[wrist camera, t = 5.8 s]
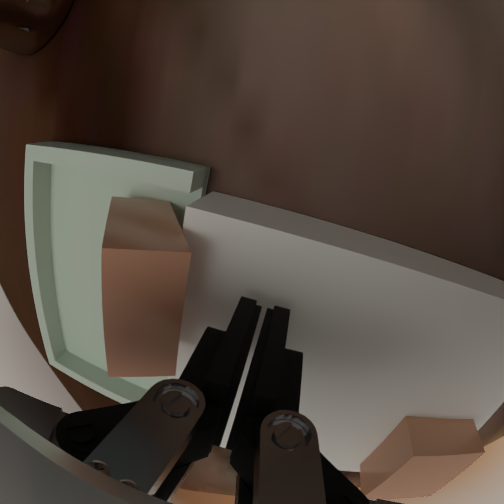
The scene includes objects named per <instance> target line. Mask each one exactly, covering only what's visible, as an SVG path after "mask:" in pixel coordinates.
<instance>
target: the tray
mask: <svg viewBox="0 0 504 504" xmlns="http://www.w3.org/2000/svg"><path fill="white" fill-rule="evenodd" d="M210 169H211V167H210V166H205V165H201V164H196V163H191V162H186V161H181V160H176V159H171V158H165V157H160V156H154V155H149V154H143V153H137V152H131V151H125V150H119V149H112V148H105V147H98V146H91V145H83V144H75V143H67V142H58V141H47V142H39V143H32V144H26V154H25V175H24V207H25V229H26V243H27V253H28V262H29V270H30V277H31V284H32V290H33V296H34V301H35V307H36V312H37V317H38V321H39V326H40V330H41V334H42V338H43V342H44V346H45V350H46V353H47V357H48V360H49V364H51V365H52V366H54V367H56V368H57V369H59V370H61V371H62V372H64V373H65V374H67V375H69V376H71V377H72V378H74V379H76V380H78V381H79V382H81V383H83V384H85V385H86V386H88V387H90V388H92V389H94V390H96V391H98V392H100V393H102V394H104V395H106V396H107V397H109V398H112V399H114V400H116V401H118V402H120V403H122V404H124V403H129V402H134V401H138V400H140V399H141V398H142V397H143V396H144V395H145V393H146V392H147V391H148V390H149V389H150V388H151V387H152V386H153V385H154V384H156V383H157V382H159V381H162V380H164V379H168V376H156V377H108V370H107V362H106V352H105V341H104V329H103V313H102V283H101V254H102V243H103V237H104V232H105V226H106V221H107V216H108V212H109V207H110V202H111V198H112V196H113V197H127V198H140V199H152V200H164V201H170V204H171V206H172V208H173V211H174V213H175V215H176V218H177V220H178V223H179V225H180V227H181V230H183V223H184V216H185V210H186V206H187V205H189V204H191V203H193V202H194V201H196V200H198V199H200V198H202V197H203V196H205V195H206V190H207V185H208V179H209V174H210Z"/></svg>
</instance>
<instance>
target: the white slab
mask: <svg viewBox="0 0 504 504" xmlns="http://www.w3.org/2000/svg"><path fill="white" fill-rule="evenodd" d="M182 232H183V234H184V236H185V239H186V241H187V243H188V246H189V248H190V250H191V252H192V254H191V260H190V266H189V273H188V279H187V286H186V293H185V300H184V307H183V315H182V323H181V331H180V339H179V347H178V356H177V365H176V375H175V376H168V379H179V378H180V376H181V374H182V372H183V370H184V368H185V367H186V365H187V363H188V361H189V359H190V357H191V355H192V354H193V352H194V350H195V348H196V346H197V344H198V342H199V341H200V339H201V337H202V335H203V333H204V331H205V329H206V328H207V327H208V326H209V327H213V328H216V329H219V330H222V331H226V330H227V328H228V325H229V323H230V321H231V319H232V316H233V314H234V312H235V309H236V307H237V305H238V302H239V300H240V298H241V296H243V297H246V298H250V299H254V300H257V303H256V305H259V306H262V309H261V312H260V316H259V319H258V323H257V326H256V330H255V333H254V337H253V340H252V344H251V347H250V351H249V354H248V358H247V361H246V364H245V368H244V371H243V374H242V378H241V381H240V384H239V387H238V391H237V394H236V397H235V400H234V404H233V407H232V410H231V413H230V416H229V419H228V423H227V426H226V429H225V432H224V435H223V438H222V441H221V444H220V447H223V448H226V444H227V441H228V438H229V435H230V431H231V428H232V425H233V421H234V418H235V415H236V411H237V408H238V405H239V401H240V398H241V394H242V391H243V388H244V384H245V381H246V377H247V374H248V370H249V367H250V364H251V360H252V357H253V354H254V350H255V347H256V344H257V341H258V337H259V334H260V331H261V327H262V324H263V320H264V317H265V314H266V310H267V308H270V309H273V308H274V306H279V307H283V308H287V309H290V317H289V325H288V332H287V340H286V347H285V348H287V349H291V350H295V351H299V352H303V367H302V381H301V393H300V405H299V413H300V414H302V415H304V416H306V417H307V418H308V419H309V420H311V422H312V423H313V424H314V426H315V428H316V431H317V434H318V441H319V449H320V452H321V453H322V454H323V455H324V456H325V457H326V458H327V459H328V460H329V461H330V462H331V463H332V464H333V465H334V466H335V467H336V468H337V469H338V470H343V471H354V472H360V464H361V463H362V462H363V461H364V460H365V459H366V458H367V457H368V456H369V455H370V454H371V453H372V452H373V451H374V450H375V449H376V448H377V447H378V446H379V445H380V444H381V443H382V442H383V441H384V440H385V439H386V437H387V436H388V435H389V434H390V433H391V432H392V431H393V430H394V429H395V428H396V426H397V425H398V424H399V423H400V422H401V421H402V420H403V418H404V417H405V416H412V417H425V418H443V419H473V420H474V423H475V425H476V428H477V431H478V430H479V429H480V428H481V427H482V426H483V425H484V424H485V422H486V421H487V420H488V419H489V418H490V417H491V416H492V415H493V414H494V412H495V411H496V410H497V409H498V408H499V407H500V405H501V404H502V403H503V402H504V281H502V280H500V279H497V278H494V277H492V276H489V275H487V274H484V273H481V272H479V271H476V270H473V269H471V268H468V267H465V266H462V265H460V264H457V263H454V262H451V261H448V260H446V259H443V258H440V257H437V256H434V255H431V254H428V253H426V252H423V251H420V250H417V249H414V248H411V247H408V246H405V245H402V244H399V243H395V242H392V241H389V240H386V239H383V238H380V237H377V236H374V235H370V234H367V233H364V232H361V231H357V230H354V229H351V228H348V227H344V226H341V225H337V224H334V223H331V222H327V221H324V220H320V219H317V218H313V217H310V216H306V215H303V214H299V213H296V212H292V211H288V210H285V209H281V208H277V207H274V206H270V205H266V204H262V203H258V202H255V201H251V200H247V199H243V198H239V197H235V196H231V195H227V194H223V193H219V192H214V191H213V192H211V193H209V194H207V195H205V196H203V197H202V198H200V199H198V200H196V201H194V202H193V203H191V204H189V205H187V206H186V210H185V216H184V223H183V230H182Z"/></svg>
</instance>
